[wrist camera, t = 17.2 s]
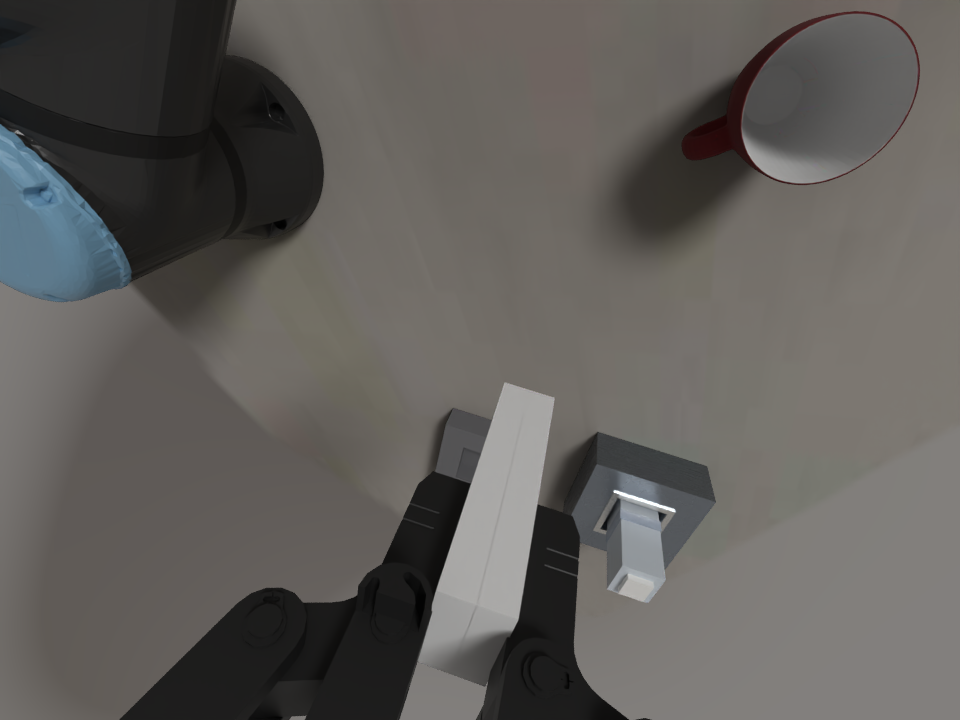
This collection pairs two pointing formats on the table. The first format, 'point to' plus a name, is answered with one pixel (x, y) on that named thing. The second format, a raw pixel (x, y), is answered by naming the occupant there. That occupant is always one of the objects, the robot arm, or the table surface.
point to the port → (639, 491)
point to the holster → (462, 445)
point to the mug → (817, 99)
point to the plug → (634, 551)
